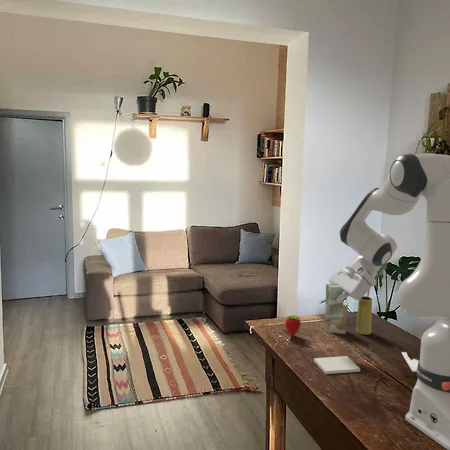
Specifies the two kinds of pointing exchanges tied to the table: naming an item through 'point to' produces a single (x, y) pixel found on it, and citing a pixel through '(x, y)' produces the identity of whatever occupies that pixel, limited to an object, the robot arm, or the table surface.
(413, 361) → the butcher knife
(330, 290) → the handle block
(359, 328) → the vase
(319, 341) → the table surface
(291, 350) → the table surface
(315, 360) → the ceramic tile
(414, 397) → the robot arm
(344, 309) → the skincare box
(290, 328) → the strawberry
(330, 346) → the table surface
